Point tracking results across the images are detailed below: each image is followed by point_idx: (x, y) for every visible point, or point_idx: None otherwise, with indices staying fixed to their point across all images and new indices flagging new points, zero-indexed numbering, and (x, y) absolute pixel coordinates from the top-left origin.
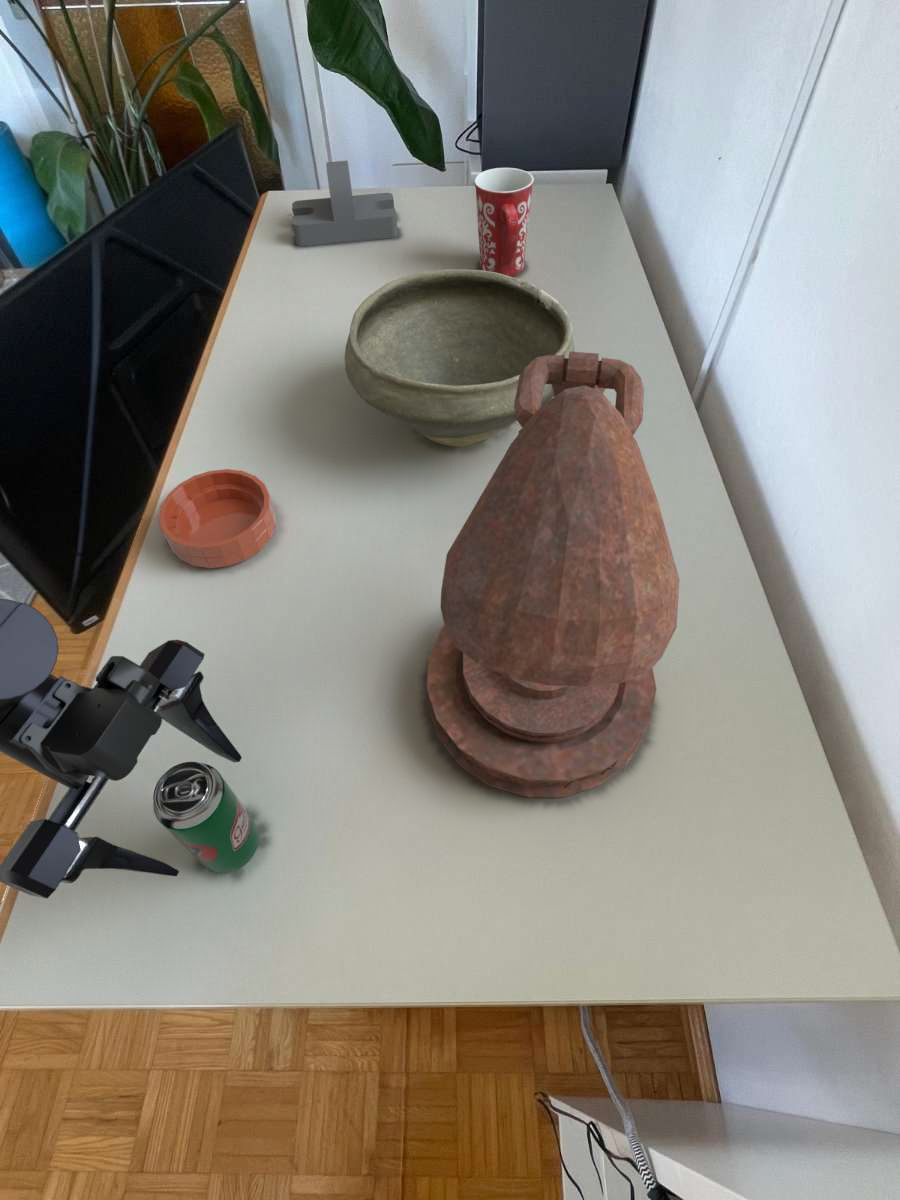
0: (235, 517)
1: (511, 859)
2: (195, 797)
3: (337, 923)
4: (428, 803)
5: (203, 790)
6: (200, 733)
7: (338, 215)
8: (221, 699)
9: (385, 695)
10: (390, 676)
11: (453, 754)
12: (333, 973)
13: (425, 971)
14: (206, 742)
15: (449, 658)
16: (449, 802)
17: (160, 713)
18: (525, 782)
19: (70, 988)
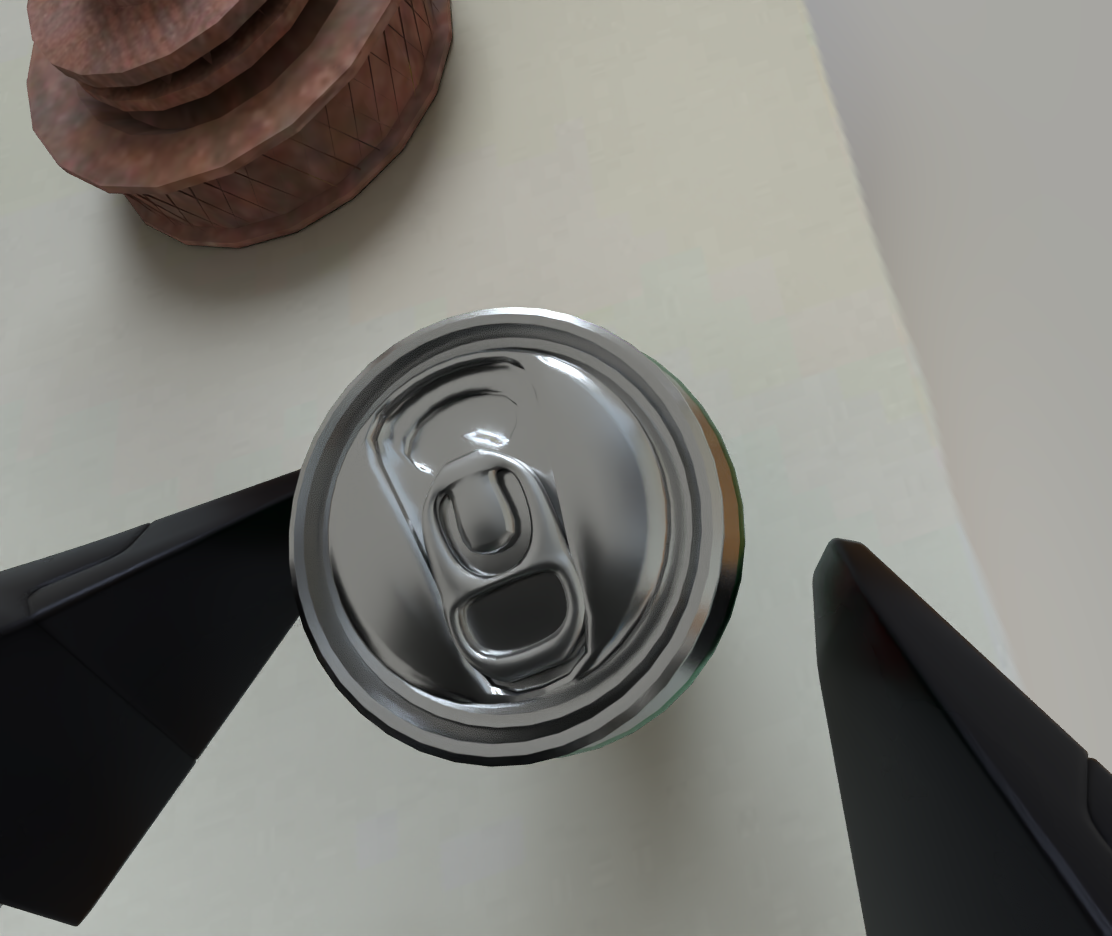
0: None
1: (561, 26)
2: (530, 418)
3: (730, 264)
4: (475, 180)
5: (478, 392)
6: (192, 602)
7: None
8: (267, 679)
9: (269, 318)
10: (231, 321)
11: (381, 159)
12: (830, 240)
13: (783, 90)
14: (269, 584)
15: (163, 149)
16: (471, 147)
17: (39, 893)
18: (424, 17)
19: None
